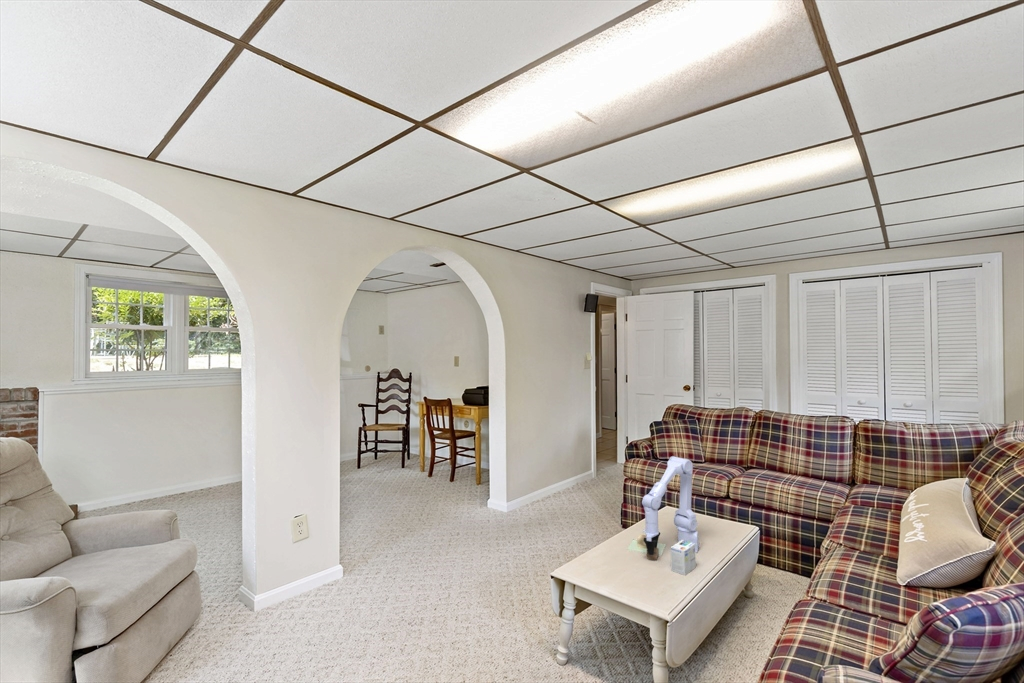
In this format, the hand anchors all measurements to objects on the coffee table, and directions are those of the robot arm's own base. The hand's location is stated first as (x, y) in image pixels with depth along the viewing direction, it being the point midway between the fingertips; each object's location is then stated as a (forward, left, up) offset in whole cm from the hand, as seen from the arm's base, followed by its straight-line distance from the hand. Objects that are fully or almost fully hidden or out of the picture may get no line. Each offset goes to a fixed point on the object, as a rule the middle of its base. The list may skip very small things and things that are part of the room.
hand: (652, 551), depth 219 cm
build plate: (+5, -11, -4) cm, 13 cm away
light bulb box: (-14, +4, -4) cm, 15 cm away
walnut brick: (0, 0, -4) cm, 4 cm away
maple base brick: (+6, -12, -3) cm, 14 cm away
